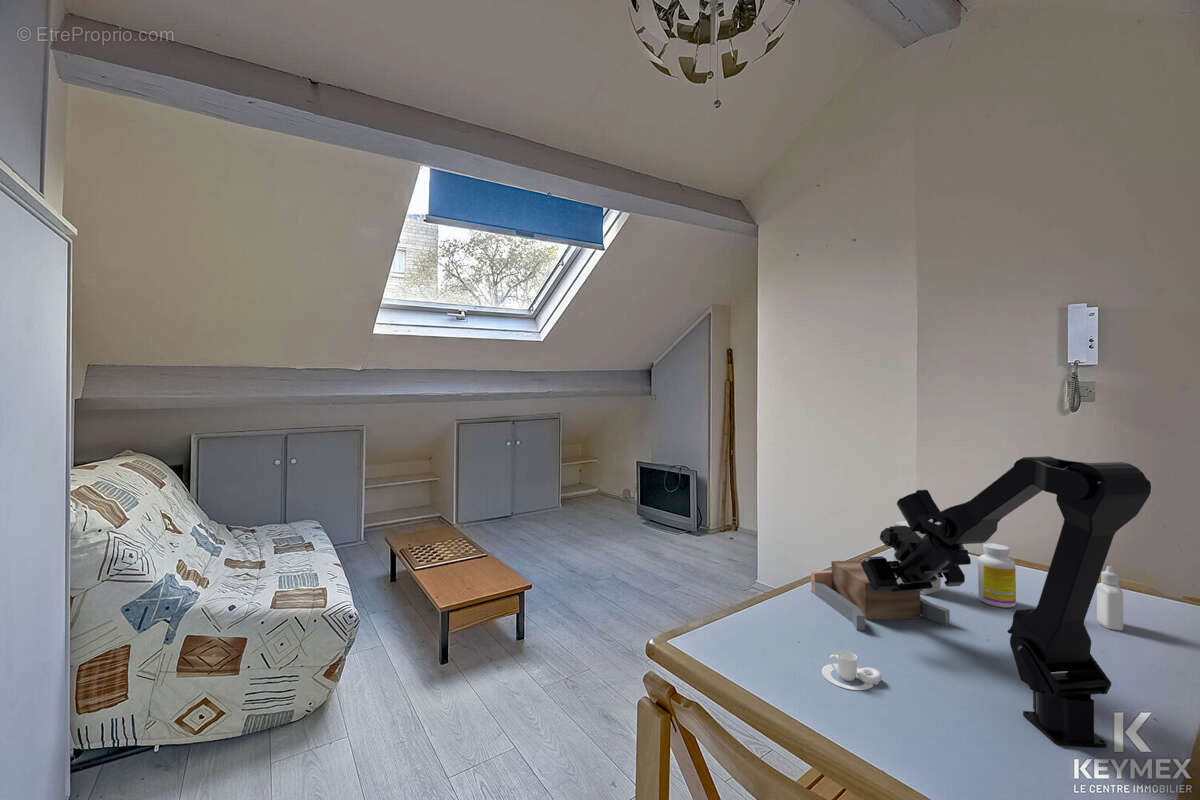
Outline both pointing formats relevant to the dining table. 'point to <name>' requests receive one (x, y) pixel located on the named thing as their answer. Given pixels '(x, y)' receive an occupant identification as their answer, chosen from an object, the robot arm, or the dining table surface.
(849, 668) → the teacup and saucer
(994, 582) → the supplement bottle
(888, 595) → the walnut box
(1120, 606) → the eye dropper bottle
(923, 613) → the box pocket
